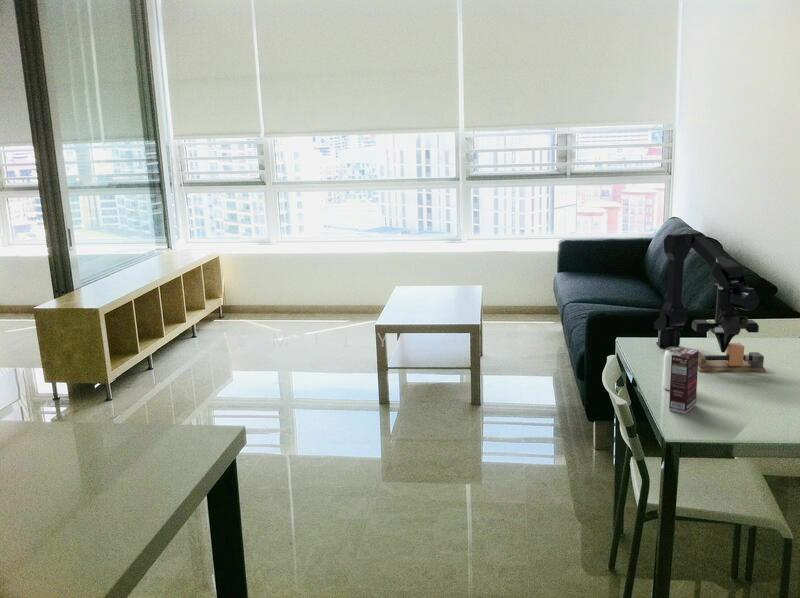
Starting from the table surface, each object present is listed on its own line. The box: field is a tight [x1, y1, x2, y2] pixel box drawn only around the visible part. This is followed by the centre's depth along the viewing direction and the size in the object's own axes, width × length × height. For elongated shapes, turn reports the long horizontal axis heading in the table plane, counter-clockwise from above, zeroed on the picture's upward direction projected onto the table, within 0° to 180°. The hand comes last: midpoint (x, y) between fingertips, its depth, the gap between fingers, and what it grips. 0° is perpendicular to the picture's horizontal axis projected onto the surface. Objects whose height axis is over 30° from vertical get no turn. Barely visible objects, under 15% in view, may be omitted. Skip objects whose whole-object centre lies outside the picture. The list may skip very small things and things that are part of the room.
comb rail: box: [697, 351, 767, 373], centre depth 238 cm, size 20×9×4 cm, turn 85°
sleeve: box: [724, 342, 745, 366], centre depth 238 cm, size 4×4×6 cm
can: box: [662, 346, 683, 392], centre depth 220 cm, size 6×6×12 cm
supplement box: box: [668, 347, 700, 415], centre depth 204 cm, size 9×5×16 cm, turn 141°
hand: (722, 352), depth 238 cm, fingers closed
